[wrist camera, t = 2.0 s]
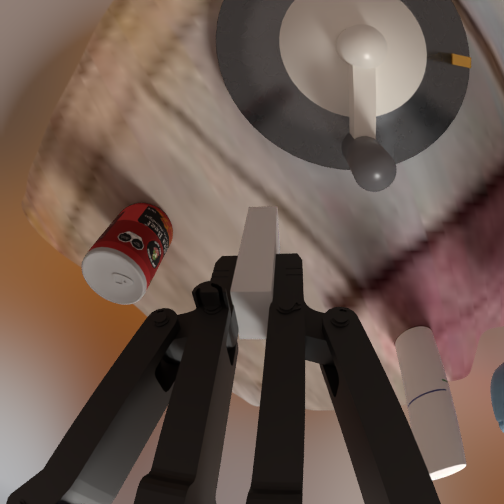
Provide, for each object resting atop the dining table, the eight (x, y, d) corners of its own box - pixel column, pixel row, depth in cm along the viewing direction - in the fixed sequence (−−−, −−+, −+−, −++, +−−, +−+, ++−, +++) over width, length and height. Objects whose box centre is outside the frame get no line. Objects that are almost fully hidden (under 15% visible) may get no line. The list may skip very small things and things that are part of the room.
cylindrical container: (406, 324, 47) (437, 468, 27) (439, 327, 47) (476, 460, 26) (388, 351, 51) (408, 484, 31) (420, 353, 51) (446, 477, 31)
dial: (272, -19, 21) (267, -40, 15) (417, -10, 19) (452, -22, 13) (289, 161, 32) (289, 193, 25) (418, 162, 30) (447, 193, 23)
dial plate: (450, -41, 16) (460, -44, 15) (453, 167, 31) (462, 174, 29) (207, -52, 20) (202, -59, 18) (235, 167, 35) (232, 175, 33)
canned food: (181, 247, 42) (154, 305, 33) (131, 251, 44) (98, 305, 35) (165, 196, 38) (129, 247, 29) (112, 204, 39) (70, 253, 31)
